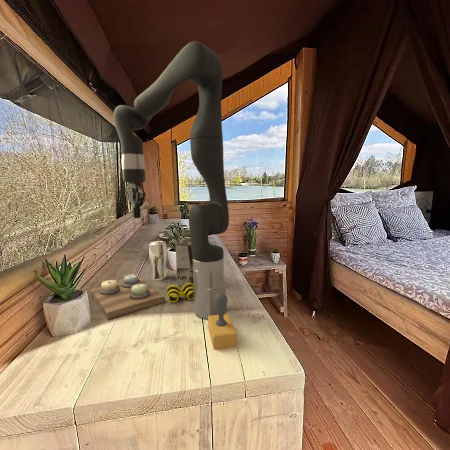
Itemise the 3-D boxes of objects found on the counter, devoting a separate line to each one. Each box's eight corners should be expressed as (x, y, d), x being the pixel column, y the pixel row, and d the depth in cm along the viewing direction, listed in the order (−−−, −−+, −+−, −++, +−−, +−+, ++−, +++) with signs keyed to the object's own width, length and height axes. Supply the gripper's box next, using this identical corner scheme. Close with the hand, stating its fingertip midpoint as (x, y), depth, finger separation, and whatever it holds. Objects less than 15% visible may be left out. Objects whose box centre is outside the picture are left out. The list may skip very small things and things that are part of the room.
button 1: (119, 288, 94) (118, 282, 94) (103, 292, 92) (103, 286, 91) (114, 284, 98) (114, 278, 98) (100, 287, 95) (99, 281, 95)
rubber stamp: (208, 327, 75) (207, 286, 73) (228, 325, 76) (228, 284, 74) (213, 349, 65) (212, 303, 63) (236, 346, 66) (236, 300, 64)
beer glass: (146, 279, 111) (144, 243, 109) (158, 274, 117) (156, 240, 115) (160, 282, 108) (158, 245, 106) (171, 276, 114) (169, 241, 112)
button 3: (140, 282, 100) (140, 276, 100) (126, 285, 97) (126, 279, 97) (135, 278, 104) (135, 272, 104) (122, 281, 101) (122, 275, 101)
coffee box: (192, 287, 102) (191, 245, 100) (176, 286, 104) (174, 245, 101) (199, 278, 111) (198, 240, 109) (184, 277, 113) (183, 239, 110)
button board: (164, 301, 91) (163, 293, 90) (107, 319, 80) (106, 309, 79) (140, 282, 108) (139, 275, 107) (91, 294, 97) (90, 286, 97)
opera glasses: (168, 306, 90) (167, 293, 88) (166, 296, 95) (166, 284, 93) (197, 301, 93) (197, 289, 91) (193, 292, 98) (194, 280, 96)
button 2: (149, 292, 91) (149, 286, 90) (134, 296, 88) (134, 290, 87) (144, 287, 95) (143, 282, 94) (129, 291, 92) (129, 285, 91)
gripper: (151, 167, 91) (154, 218, 94) (137, 169, 101) (140, 215, 104) (129, 167, 86) (132, 221, 89) (116, 168, 97) (120, 217, 100)
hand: (137, 217), depth 97 cm, fingers closed
